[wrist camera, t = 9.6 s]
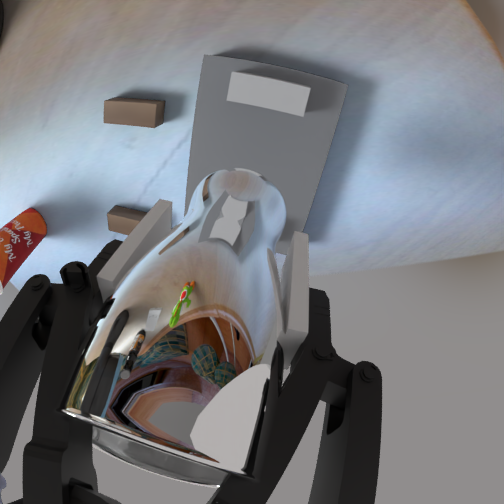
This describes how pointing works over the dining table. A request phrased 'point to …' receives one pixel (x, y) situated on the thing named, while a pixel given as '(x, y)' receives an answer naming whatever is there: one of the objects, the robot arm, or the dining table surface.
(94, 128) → the dining table surface
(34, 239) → the paper cup
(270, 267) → the beer glass
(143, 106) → the twin wooden blocks
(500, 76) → the dining table surface
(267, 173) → the grey tray with risers
